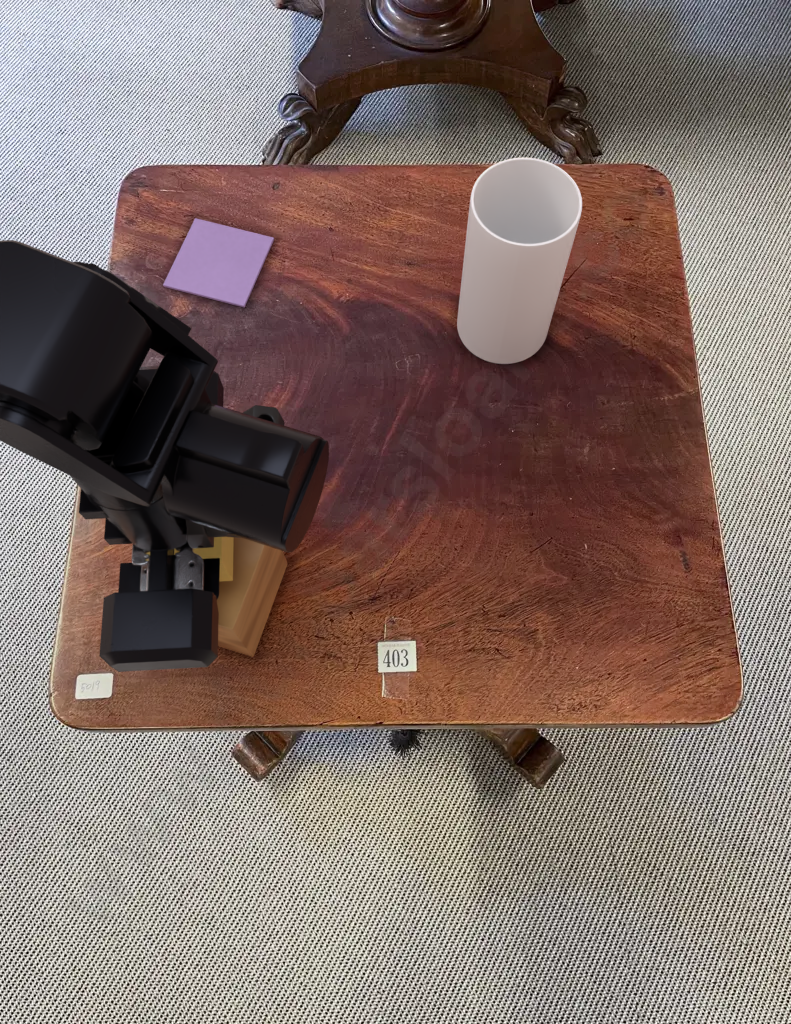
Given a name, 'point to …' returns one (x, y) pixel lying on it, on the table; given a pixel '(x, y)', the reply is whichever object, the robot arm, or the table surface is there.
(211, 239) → the towel
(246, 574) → the stand
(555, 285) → the cup
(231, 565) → the cheese
